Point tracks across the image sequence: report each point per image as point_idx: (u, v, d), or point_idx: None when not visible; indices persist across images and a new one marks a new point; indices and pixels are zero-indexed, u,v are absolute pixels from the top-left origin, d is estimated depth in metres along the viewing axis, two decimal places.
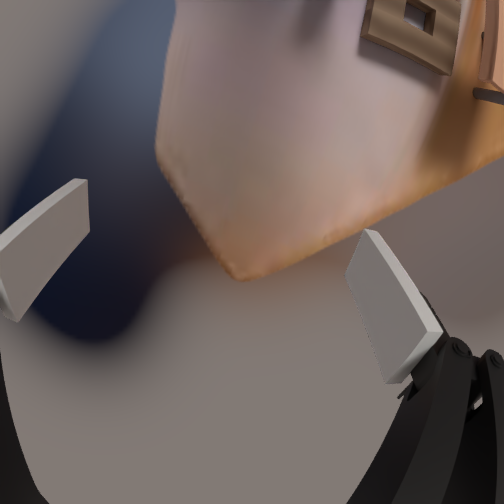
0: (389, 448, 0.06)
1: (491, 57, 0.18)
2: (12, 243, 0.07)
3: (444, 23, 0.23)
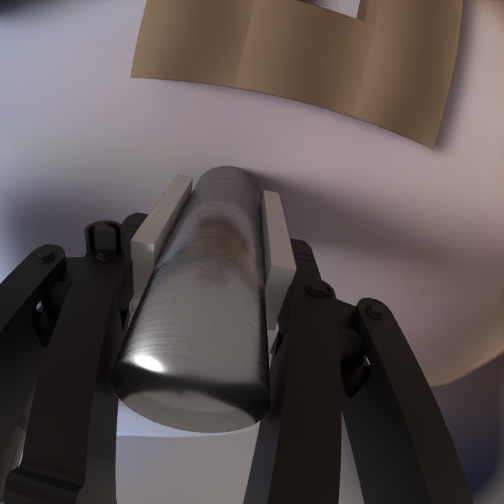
0: None
1: None
2: (162, 232, 0.09)
3: None
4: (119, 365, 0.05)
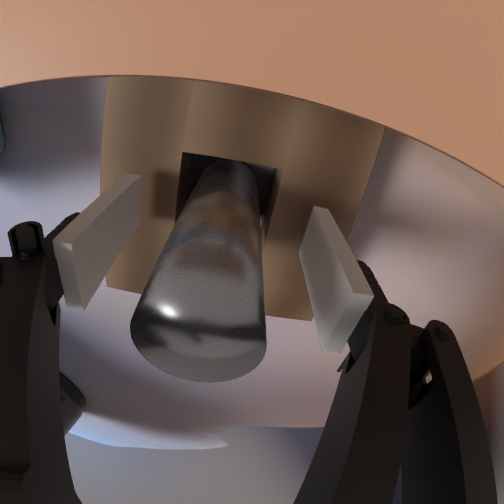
0: (332, 427, 0.06)
1: (459, 160, 0.04)
2: (85, 231, 0.08)
3: (218, 122, 0.12)
4: (140, 308, 0.07)
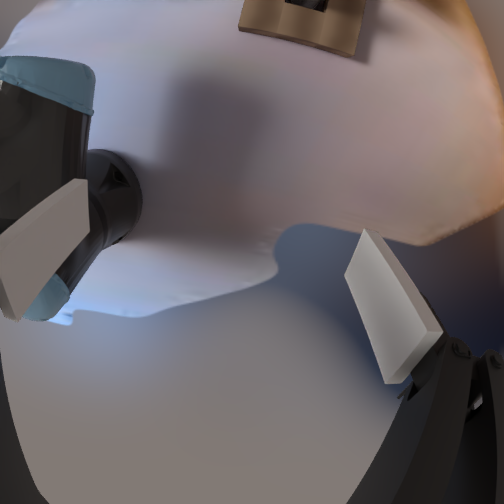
0: (389, 448, 0.06)
1: None
2: (12, 243, 0.07)
3: None
4: None
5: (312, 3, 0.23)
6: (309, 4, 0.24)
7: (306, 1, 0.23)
